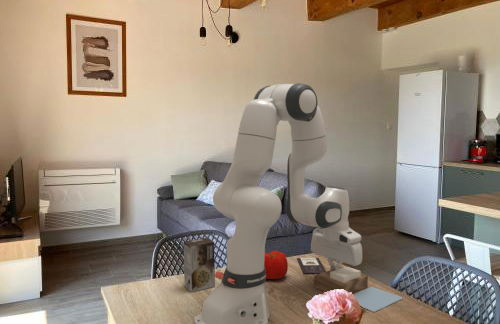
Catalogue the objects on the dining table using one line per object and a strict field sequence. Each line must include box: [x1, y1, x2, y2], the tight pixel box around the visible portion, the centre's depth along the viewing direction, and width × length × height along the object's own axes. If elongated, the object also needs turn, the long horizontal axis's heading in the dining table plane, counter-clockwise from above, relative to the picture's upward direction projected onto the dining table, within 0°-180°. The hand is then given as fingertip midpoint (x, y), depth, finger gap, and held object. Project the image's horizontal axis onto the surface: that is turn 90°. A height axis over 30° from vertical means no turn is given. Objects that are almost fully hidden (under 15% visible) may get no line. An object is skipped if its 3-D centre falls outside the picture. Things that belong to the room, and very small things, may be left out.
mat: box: [353, 286, 404, 313], centre depth 136 cm, size 16×12×1 cm
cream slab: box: [330, 266, 362, 283], centre depth 144 cm, size 9×6×2 cm, turn 130°
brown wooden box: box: [313, 266, 369, 294], centre depth 146 cm, size 14×12×4 cm
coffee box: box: [183, 237, 216, 293], centre depth 145 cm, size 9×6×16 cm
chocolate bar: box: [296, 257, 327, 276], centre depth 167 cm, size 9×1×18 cm
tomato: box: [264, 250, 289, 280], centre depth 155 cm, size 11×12×9 cm
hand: (334, 271), depth 147 cm, fingers closed
